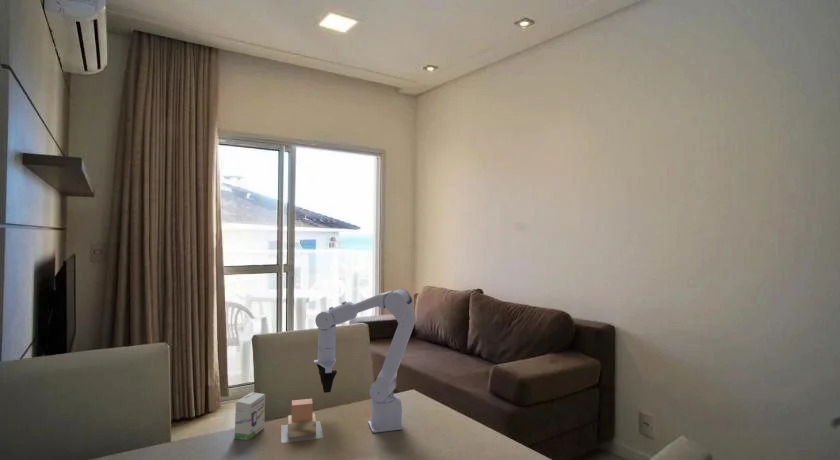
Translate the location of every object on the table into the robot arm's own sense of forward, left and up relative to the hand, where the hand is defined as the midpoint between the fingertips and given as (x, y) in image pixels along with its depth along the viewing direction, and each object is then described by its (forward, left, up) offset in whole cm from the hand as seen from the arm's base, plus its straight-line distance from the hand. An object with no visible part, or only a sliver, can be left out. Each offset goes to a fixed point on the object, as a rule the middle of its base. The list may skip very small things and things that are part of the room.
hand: (325, 387), depth 147 cm
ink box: (+23, +6, -11) cm, 26 cm away
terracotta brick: (+8, +9, -5) cm, 13 cm away
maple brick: (+8, +9, -9) cm, 15 cm away
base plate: (+8, +9, -10) cm, 16 cm away
